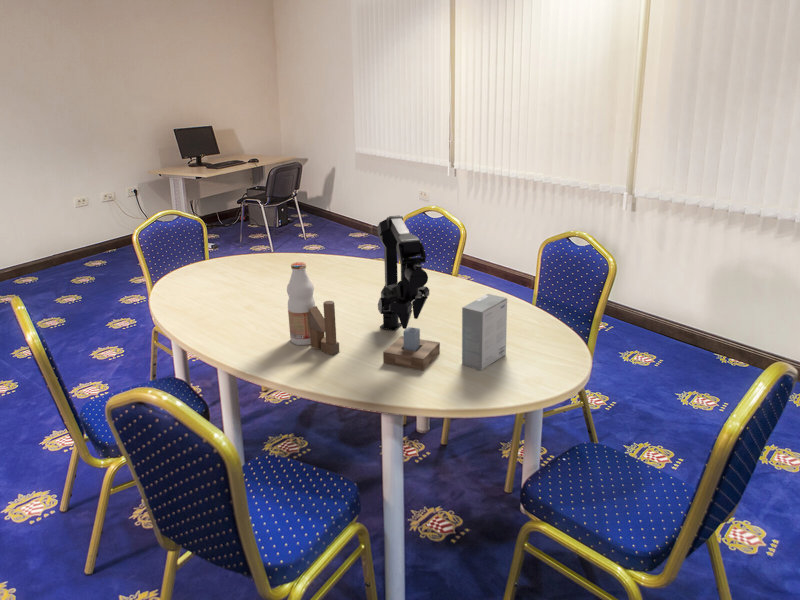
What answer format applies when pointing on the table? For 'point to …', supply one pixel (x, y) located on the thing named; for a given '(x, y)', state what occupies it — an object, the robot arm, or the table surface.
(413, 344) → the tenon peg
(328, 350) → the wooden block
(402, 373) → the table surface
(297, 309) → the fruit juice
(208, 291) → the table surface
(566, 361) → the table surface
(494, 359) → the hard drive box
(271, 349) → the table surface
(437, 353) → the mortise block
